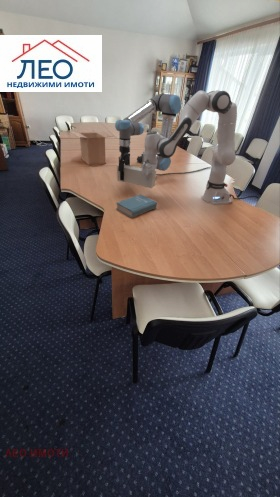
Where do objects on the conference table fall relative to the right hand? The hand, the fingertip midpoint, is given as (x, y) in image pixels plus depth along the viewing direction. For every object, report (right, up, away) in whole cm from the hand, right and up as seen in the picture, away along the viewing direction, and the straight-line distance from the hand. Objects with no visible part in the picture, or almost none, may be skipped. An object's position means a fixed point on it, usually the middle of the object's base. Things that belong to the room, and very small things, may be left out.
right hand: (148, 178), depth 158 cm
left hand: (-18, +2, +8) cm, 20 cm away
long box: (-9, -1, +6) cm, 11 cm away
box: (-56, +43, +78) cm, 106 cm away
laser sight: (+1, +44, +85) cm, 95 cm away
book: (-8, -23, -7) cm, 26 cm away
